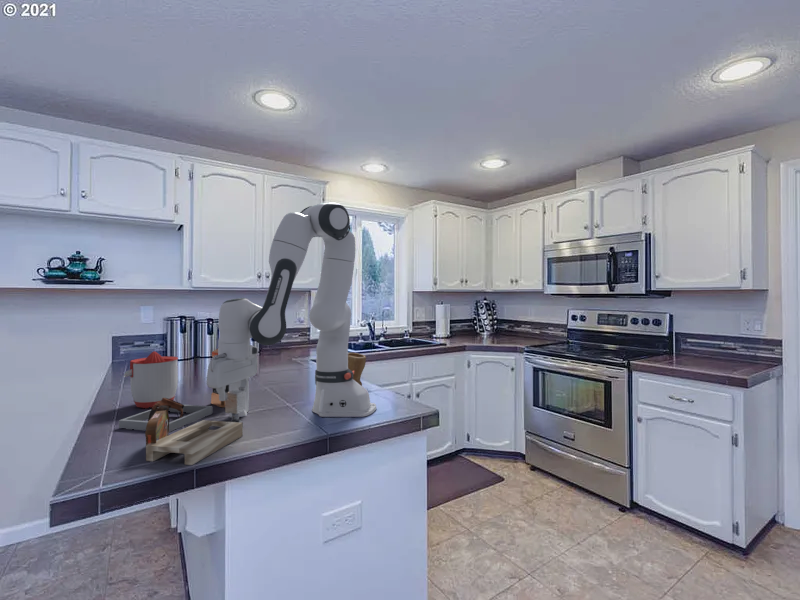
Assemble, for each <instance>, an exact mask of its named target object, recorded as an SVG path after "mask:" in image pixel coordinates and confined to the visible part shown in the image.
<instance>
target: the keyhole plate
mask: <svg viewBox="0 0 800 600" xmlns="http://www.w3.org/2000/svg"><path fill="white" fill-rule="evenodd" d="M210 427H218V428H216V429H210ZM243 428H244V425H243V426H242V423H239V422H230V421H222V420H207V419H203V420H200V421H198V422H194V423H193V424H191V425H189V426H187V427H184V428H182V429H179V430H177V431H175V432H173V433H171V434H168V436H166V437H164V438H161V439H159V440H157V441H156V443H152V444H148V445H146V444H145V461H146V462H155V461H157V460H159V459H161V458H163V457H165V456H166V455H169V454H171V453H173V454H174V453H175V454H183V455H184V466H186V465H187V466H193V465H195V464H196V463H198V462H200V461H201V460H203V459H206V458H207V457H208V456H210V455H212V454H214V453H216V452H217V451H219V450H221V449H222V448H224V447H226V446H227V445H230V444H231V443H233V442H234V441H236V440H238V439H240V438H241V437H243V436H244V435H243V432H244V431H243V430H244V429H243Z"/></svg>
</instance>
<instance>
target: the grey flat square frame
mask: <svg viewBox="0 0 800 600" xmlns="http://www.w3.org/2000/svg"><path fill="white" fill-rule="evenodd" d="M183 405H184V407H183V412H186V414H187V415H183V416H182V418H180V417H179V418H176V419H173V420H171V421H169V433H171V432H173V431H176V430H177V429H180V428H182V427H185V426H187V425H190V424H191V422H192V423H195V422H196V421H199V420H201V419H203V418H205V416H206V417H208V416H210V415H212V414H213V406H212V405H199V404H198V405H197V404H194V405H193V404H183ZM150 411H151V409H149V410H146V411H143V412H139V413H136V414H133V415H130V416H128V417H124V418H122V419H119V420H118V429H119V428H126V429H125V430H132V429H134V431H145V430H146V426H147V423H148V418H149V414H150ZM169 411H170V413H181V412H180V411H178V410H177V409H174V408H169ZM146 419H147V420H146ZM198 419H199V420H198ZM143 420H144V421H143ZM184 425H185V426H184ZM175 429H176V430H175Z"/></svg>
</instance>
